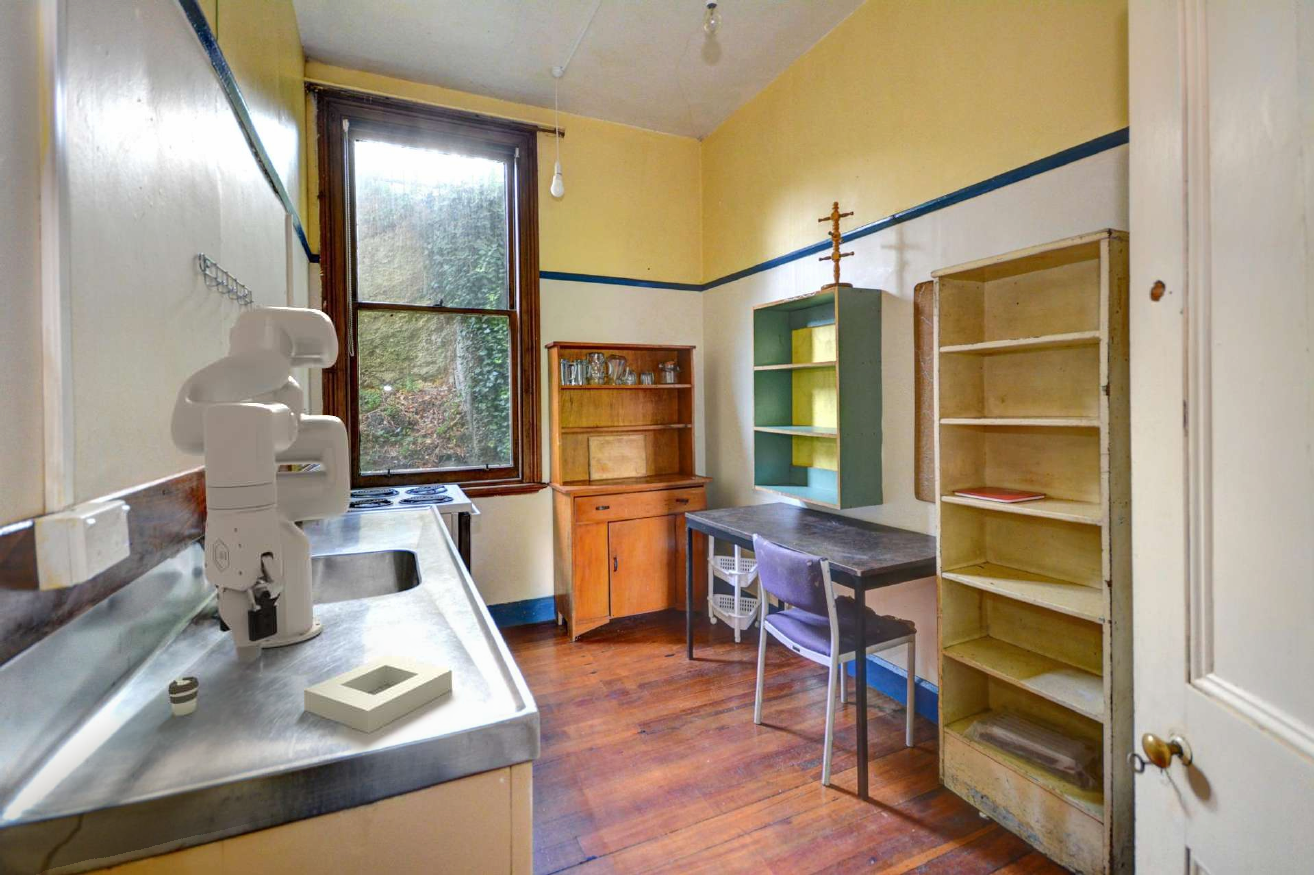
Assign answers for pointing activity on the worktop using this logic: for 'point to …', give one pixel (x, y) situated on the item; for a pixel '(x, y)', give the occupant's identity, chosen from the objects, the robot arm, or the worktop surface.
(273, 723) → the worktop surface
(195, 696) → the coffee cup
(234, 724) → the worktop surface
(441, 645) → the worktop surface
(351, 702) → the socket block
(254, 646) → the lightbulb
